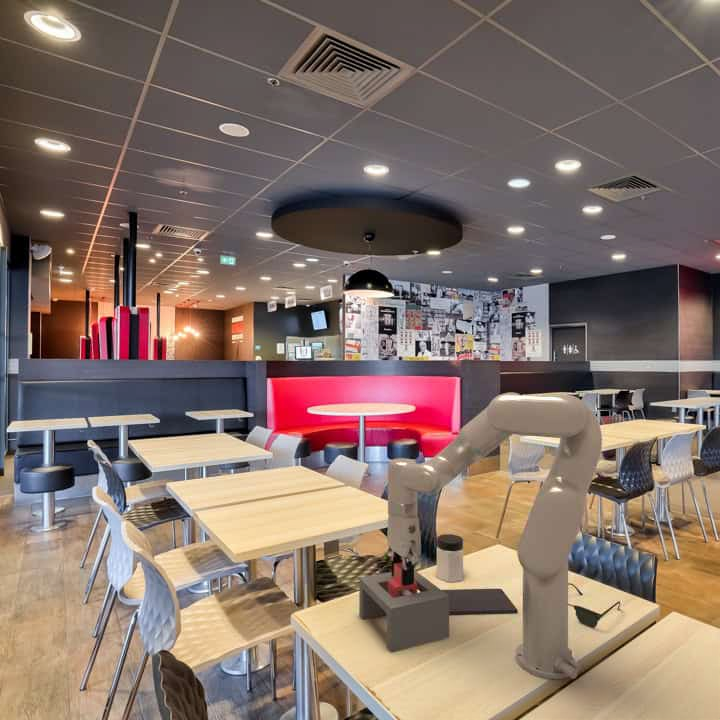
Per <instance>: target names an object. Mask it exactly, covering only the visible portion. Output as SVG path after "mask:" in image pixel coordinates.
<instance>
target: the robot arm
mask: <svg viewBox="0 0 720 720" xmlns="http://www.w3.org/2000/svg"><path fill="white" fill-rule="evenodd" d="M513 435H520V436H527V437H528V436H529V437H540V438H541V437H544V438H555V439H559V444H558V446H557V449H556V452H555V455H554V457H553V462H552V464H551V466H550V469H549V472H548V474H547V476H546V479H545V481H544V482H543V483H542V484H541V487H540V488H539V490H538V492H537V494H536V496H535V499H534V502H533V504H532V507H531V509H530V512H529V515H528V518H527V520H526V523H525V525H524V528H523V531H522V534H521V536H520V538H519V540H518V543H517V547H516V548H517V549H516V554H517V560H518V561H519V564H520V566H521V568H522V643H521V644H519V645H518V646H517V647H516V649H515V660H516V661H517V663H518V664H519V666H521V667H522V668H523V669H524V670H526V671H527V672H530V673H531V674H533V675H535V676H538V677H542V678H546V679H553V680H558V679H559V680H561V679H566V678H568V677H569V678H571V679H572V680H574V679H576V678H577V676H578V672H579V671H581V668H582V667H581V665H580V664H579V663H578V662H576V659H575V658H574V656H573V650H572V649H571V648H569V605H568V604H569V585H568V583H569V557H570V556H569V555H570V552H571V551H572V548H573V546H574V543H575V540H576V537H577V536H578V533H579V530H580V527H581V525H582V523H583V519H584V516H585V511H586V500H587V499H586V498H587V494H588V492H589V490H590V486H591V483H592V481H593V479H594V475H595V472H596V471H597V466H598V463H599V462H600V461H599V460H600V457H601V454H602V448H603V437H602V429H601V426H600V423H599V421H598V418H597V417H596V415H595V414H594V412H593V411H592V410H591V409H590V407H589V406H588V405H587V404H586V403H585V402H584V401H583V400H582V399H580V398H579V397H577V396H574V395H571V394H562V395H557V396H537V395H536V396H534V395H533V396H532V395H521V394H520V393H517V392H510V391H509V392H505V393H502V394H498V395H497V396H495V397H494V398H493V399H492V400H491V401H490V402H489V404H488V406H486V408H485V409H483V410H481V412H480V413H478V414H477V415H476V416H475V417H473V418H472V419H471V420H470V421H469V422H467V423H466V424H465V425H463V426H462V428H461V429H460V430H459V431H458V433H457V436H456V437H455V438H454V440H452V441H451V442H450V443H449V444H448V445H446V447H444V448H443V449H442V450H440V451H439V452H438V453H437V454H436V455H435V456H433V457H432V458H430V459H428V460H427V461H424V462H421V463H417V462H416V461H415V460H414V459H412V458H406V457H404V458H403V457H401V458H400V457H397V458H393V459H391V460H390V461H389V463H388V465H387V515H388V520H387V533H386V535H387V537H386V539H387V546H388V547H389V552H390V560H391V572H392V576H393V577H394V564H395V563H400V562H403V568H404V569H402V585H403V586H406V585H411V584H414V570H415V569H416V566H417V564H418V563H420V558H419V557H420V556H421V554H422V543H421V542H422V541H421V540H422V539H421V530H420V529H421V527H420V521H419V515H418V496H419V495H418V493H420V494H423V495H434V494H437V493H438V492H439V491H440V490H442V489H444V487H446V486H447V485H449V483H451V482H453V480H454V479H456V478H457V477H458V476H460V474H462V473H463V472H464V471H466V469H468V468H470V467H471V466H472V465H474V464H475V463H477V462H478V461H480V460H482V459H483V458H485V457H486V456H488V455H489V454H490V453H492V452H493V451H494V450H495V449H496V448H498V447H499V446H500V445H501V444H503V443H504V442H505V441H507V440H508V439H509V438H510V437H512V436H513ZM409 559H410V560H409ZM407 560H408V561H407Z"/></svg>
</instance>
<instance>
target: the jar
mask: <svg viewBox="0 0 720 720" xmlns="http://www.w3.org/2000/svg"><path fill="white" fill-rule="evenodd" d="M436 546H437V547H436V578H437V579H439V580H441V581H444V582H447V583H456V582H463V579H464V578H463V577H464V538H462V537H461V536H459V535H456V534H450V533H449V534H440V535H438V536H437V537H436Z"/></svg>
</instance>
